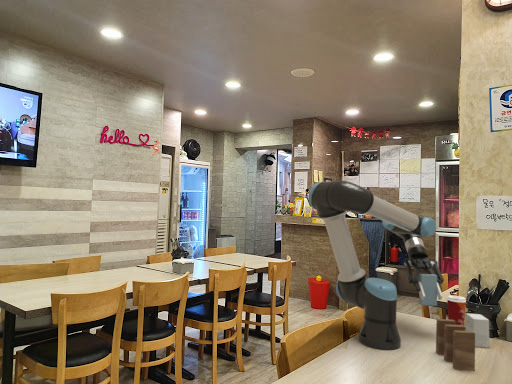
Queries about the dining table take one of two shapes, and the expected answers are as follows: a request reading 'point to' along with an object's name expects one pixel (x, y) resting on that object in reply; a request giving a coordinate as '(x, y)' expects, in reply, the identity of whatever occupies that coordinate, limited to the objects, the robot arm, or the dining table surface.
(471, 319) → the small box
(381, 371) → the dining table surface
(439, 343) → the domino
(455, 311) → the paper cup
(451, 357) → the domino
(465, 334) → the domino
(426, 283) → the blue domino
